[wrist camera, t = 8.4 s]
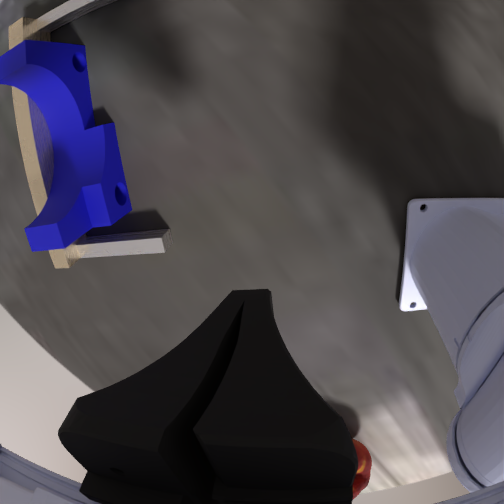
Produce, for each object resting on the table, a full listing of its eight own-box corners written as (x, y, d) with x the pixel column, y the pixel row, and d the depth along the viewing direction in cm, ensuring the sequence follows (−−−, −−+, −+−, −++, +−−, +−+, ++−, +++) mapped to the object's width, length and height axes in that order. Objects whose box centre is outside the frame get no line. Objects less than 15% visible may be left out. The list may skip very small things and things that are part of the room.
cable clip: (133, 209, 21) (84, 246, 15) (83, 216, 22) (32, 251, 16) (104, 38, 16) (44, 28, 10) (54, 60, 16) (-7, 61, 11)
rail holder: (132, -18, 14) (108, -31, 11) (173, 242, 21) (156, 263, 19) (36, 29, 15) (8, 26, 12) (77, 250, 23) (55, 268, 20)
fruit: (373, 449, 30) (378, 509, 23) (305, 462, 32) (302, 519, 25) (364, 415, 27) (370, 486, 20) (285, 430, 29) (278, 498, 22)
